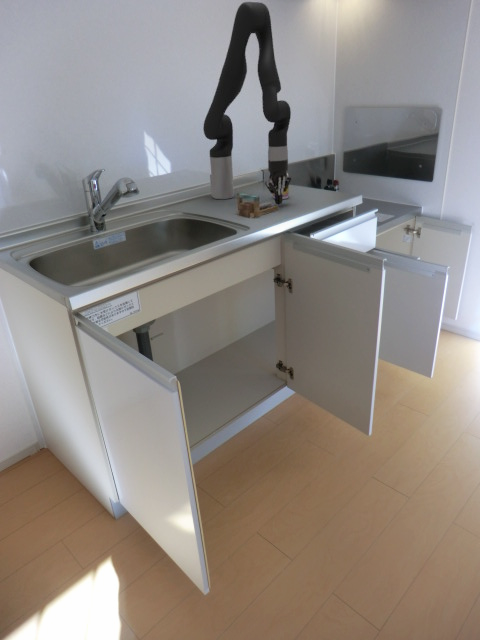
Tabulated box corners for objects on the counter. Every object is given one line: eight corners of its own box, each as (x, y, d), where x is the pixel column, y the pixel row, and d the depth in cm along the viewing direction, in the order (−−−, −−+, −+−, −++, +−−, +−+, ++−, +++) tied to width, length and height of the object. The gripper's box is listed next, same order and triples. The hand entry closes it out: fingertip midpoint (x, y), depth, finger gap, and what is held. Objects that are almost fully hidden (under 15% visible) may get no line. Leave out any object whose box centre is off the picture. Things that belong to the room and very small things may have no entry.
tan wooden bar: (251, 213, 184) (251, 206, 183) (267, 209, 190) (267, 201, 188) (256, 214, 183) (256, 207, 181) (272, 210, 188) (272, 202, 187)
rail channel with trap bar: (235, 214, 184) (234, 194, 180) (261, 206, 192) (261, 187, 189) (253, 218, 177) (253, 198, 174) (280, 210, 186) (280, 190, 182)
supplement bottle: (287, 199, 201) (287, 167, 195) (271, 199, 202) (271, 168, 196) (289, 196, 206) (289, 165, 201) (274, 196, 208) (273, 165, 202)
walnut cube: (240, 215, 182) (239, 203, 180) (248, 213, 185) (248, 201, 183) (248, 217, 179) (247, 205, 177) (257, 215, 182) (256, 202, 180)
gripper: (282, 155, 190) (282, 199, 198) (258, 160, 182) (260, 205, 190) (296, 156, 185) (296, 201, 193) (273, 161, 177) (274, 208, 185)
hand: (278, 203), depth 191 cm, fingers closed
